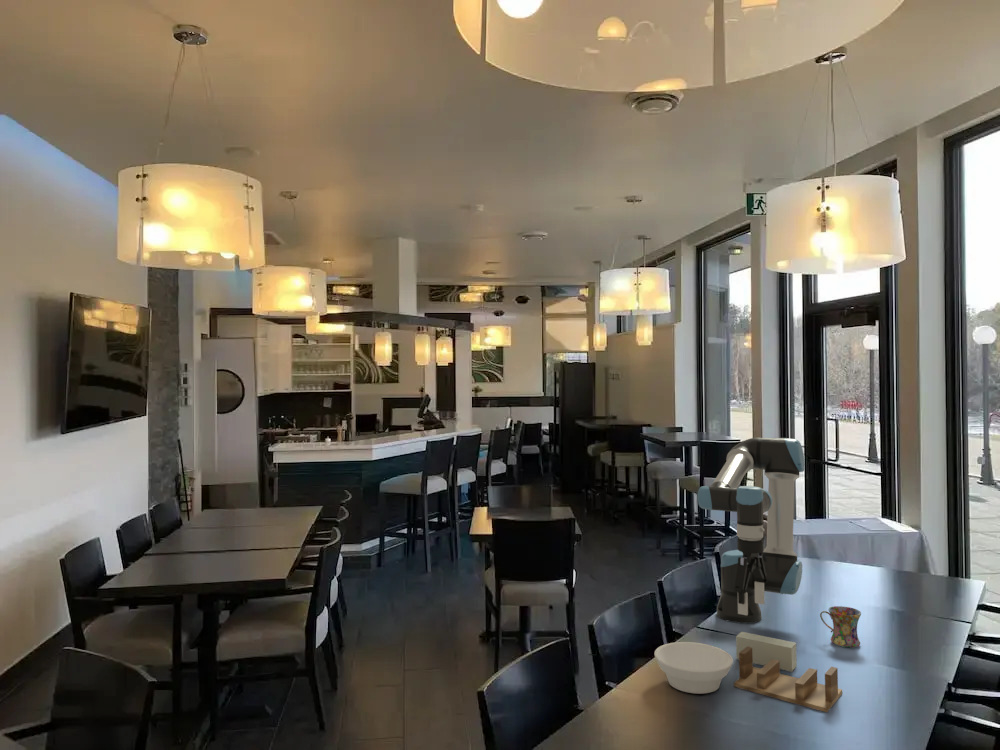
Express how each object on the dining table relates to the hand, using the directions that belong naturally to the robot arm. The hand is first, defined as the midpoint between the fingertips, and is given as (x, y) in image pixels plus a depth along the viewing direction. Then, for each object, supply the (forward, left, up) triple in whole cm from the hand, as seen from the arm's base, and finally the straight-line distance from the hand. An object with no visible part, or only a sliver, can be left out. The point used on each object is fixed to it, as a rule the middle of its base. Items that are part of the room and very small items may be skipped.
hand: (751, 608), depth 207 cm
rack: (+15, -15, -15) cm, 26 cm away
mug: (+17, +30, -15) cm, 38 cm away
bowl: (-6, -28, -16) cm, 32 cm away
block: (+4, 0, -15) cm, 16 cm away
